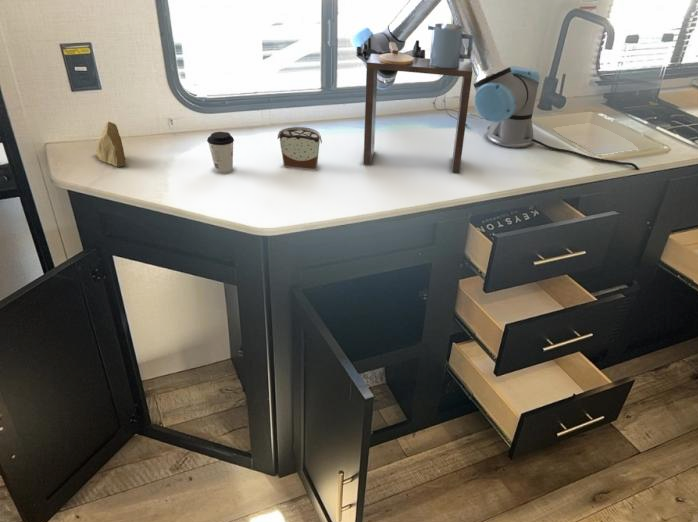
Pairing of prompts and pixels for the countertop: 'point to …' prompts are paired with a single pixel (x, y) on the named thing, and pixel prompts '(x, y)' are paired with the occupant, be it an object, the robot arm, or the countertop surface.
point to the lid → (396, 56)
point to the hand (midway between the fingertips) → (393, 44)
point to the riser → (418, 67)
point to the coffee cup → (221, 151)
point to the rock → (111, 146)
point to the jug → (448, 45)
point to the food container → (300, 147)
